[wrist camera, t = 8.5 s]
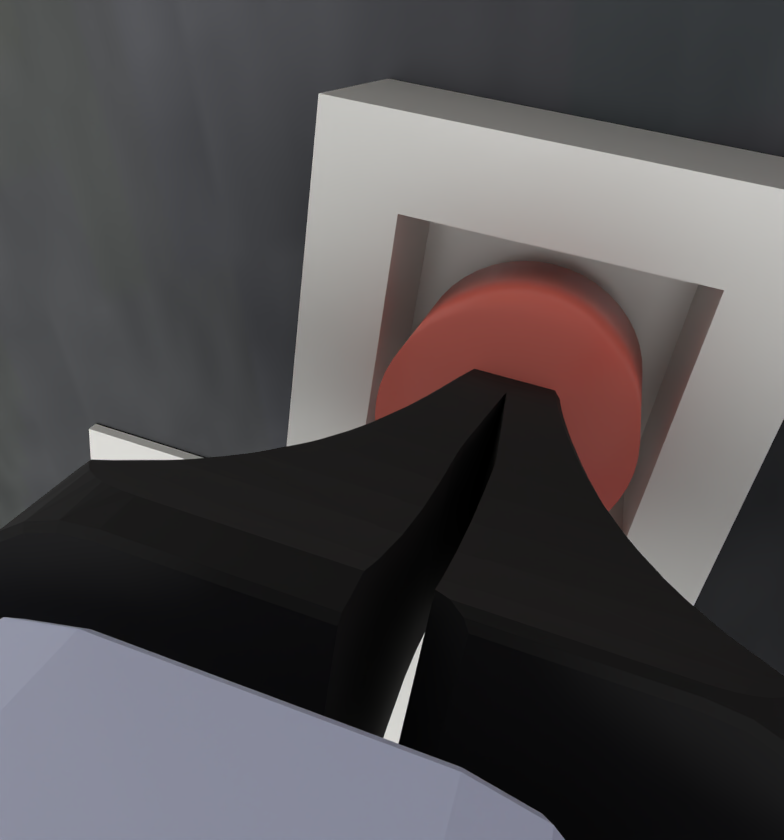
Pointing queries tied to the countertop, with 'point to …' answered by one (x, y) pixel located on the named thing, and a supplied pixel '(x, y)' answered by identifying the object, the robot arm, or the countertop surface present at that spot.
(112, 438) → the paper
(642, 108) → the countertop surface
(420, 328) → the button
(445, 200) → the button housing
